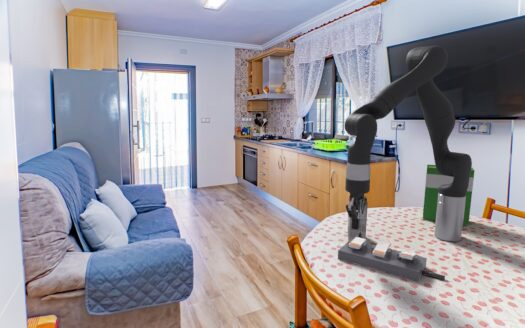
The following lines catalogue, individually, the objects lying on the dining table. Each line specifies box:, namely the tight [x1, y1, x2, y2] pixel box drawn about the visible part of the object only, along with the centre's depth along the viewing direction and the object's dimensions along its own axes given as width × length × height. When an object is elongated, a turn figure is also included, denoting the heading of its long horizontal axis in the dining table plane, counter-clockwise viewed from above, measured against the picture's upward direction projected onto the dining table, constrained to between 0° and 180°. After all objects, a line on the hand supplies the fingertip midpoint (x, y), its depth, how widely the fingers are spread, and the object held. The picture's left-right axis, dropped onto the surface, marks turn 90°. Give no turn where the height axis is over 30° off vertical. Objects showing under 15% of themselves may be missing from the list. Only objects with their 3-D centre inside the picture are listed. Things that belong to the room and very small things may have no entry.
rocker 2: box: [373, 240, 391, 258], centre depth 108 cm, size 7×4×1 cm, turn 143°
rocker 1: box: [348, 237, 367, 249], centre depth 113 cm, size 7×4×1 cm, turn 144°
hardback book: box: [422, 164, 475, 226], centre depth 148 cm, size 18×7×24 cm, turn 64°
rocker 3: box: [399, 250, 417, 260], centre depth 103 cm, size 7×4×1 cm, turn 144°
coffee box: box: [347, 195, 369, 242], centre depth 126 cm, size 9×6×16 cm
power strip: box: [337, 239, 446, 282], centre depth 107 cm, size 11×31×5 cm, turn 54°
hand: (355, 228), depth 109 cm, fingers closed
